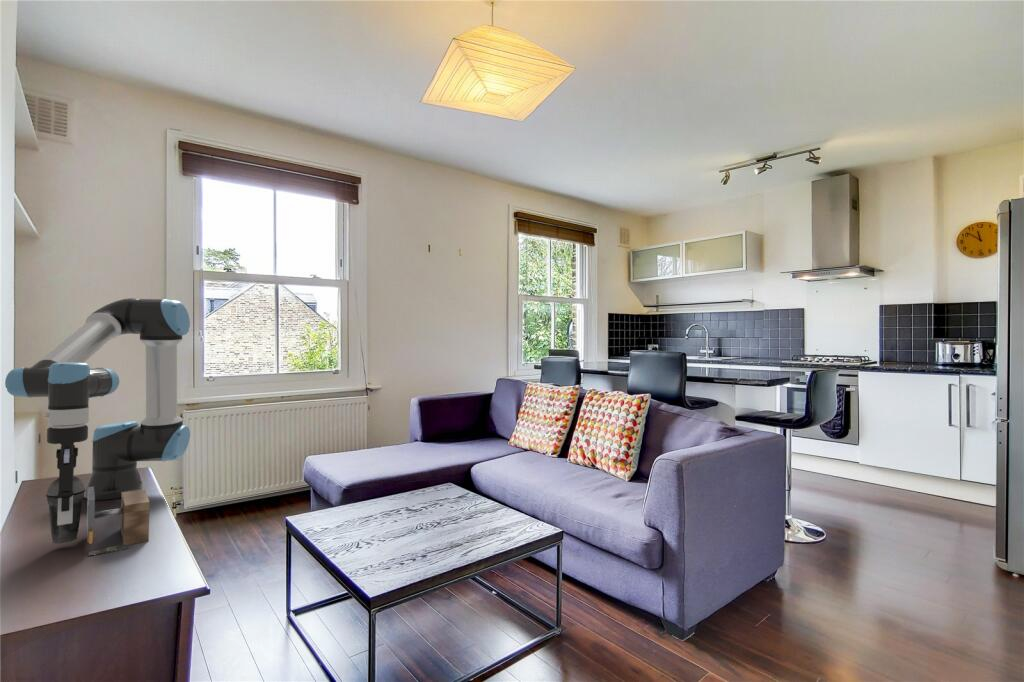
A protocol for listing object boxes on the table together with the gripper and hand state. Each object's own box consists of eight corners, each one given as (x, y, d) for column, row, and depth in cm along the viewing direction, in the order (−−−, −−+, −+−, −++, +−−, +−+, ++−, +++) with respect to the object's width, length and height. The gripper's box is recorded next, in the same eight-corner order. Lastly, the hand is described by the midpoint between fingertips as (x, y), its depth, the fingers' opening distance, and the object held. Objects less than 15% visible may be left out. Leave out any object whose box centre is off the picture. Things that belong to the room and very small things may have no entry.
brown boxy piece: (88, 556, 118) (89, 513, 118) (87, 535, 131) (89, 496, 131) (149, 544, 126) (150, 504, 126) (143, 525, 139) (144, 489, 139)
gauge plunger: (87, 544, 119) (88, 502, 119) (86, 525, 131) (87, 487, 131) (139, 535, 125) (140, 494, 125) (134, 517, 137) (135, 481, 137)
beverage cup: (91, 536, 125) (93, 456, 125) (56, 547, 118) (59, 462, 118) (72, 532, 128) (74, 453, 128) (37, 543, 121) (39, 459, 121)
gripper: (49, 421, 128) (47, 511, 128) (44, 433, 113) (41, 535, 113) (88, 419, 133) (85, 505, 133) (88, 430, 118) (85, 527, 118)
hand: (65, 519), depth 123 cm, fingers closed on beverage cup, 7 cm apart
